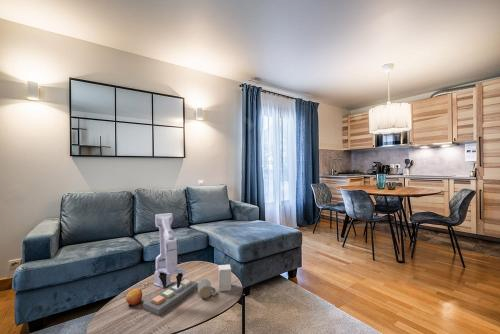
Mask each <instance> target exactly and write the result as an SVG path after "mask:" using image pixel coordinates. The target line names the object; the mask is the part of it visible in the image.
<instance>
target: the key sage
mask: <svg viewBox="0 0 500 334" xmlns="http://www.w3.org/2000/svg"><path fill="white" fill-rule="evenodd" d="M173 295H174V291H172V290H169V289H168V290H166V291H165V292H163V293H162V296H163V297H165V298H167V299H169V298H170V297H172V296H173Z"/></svg>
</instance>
